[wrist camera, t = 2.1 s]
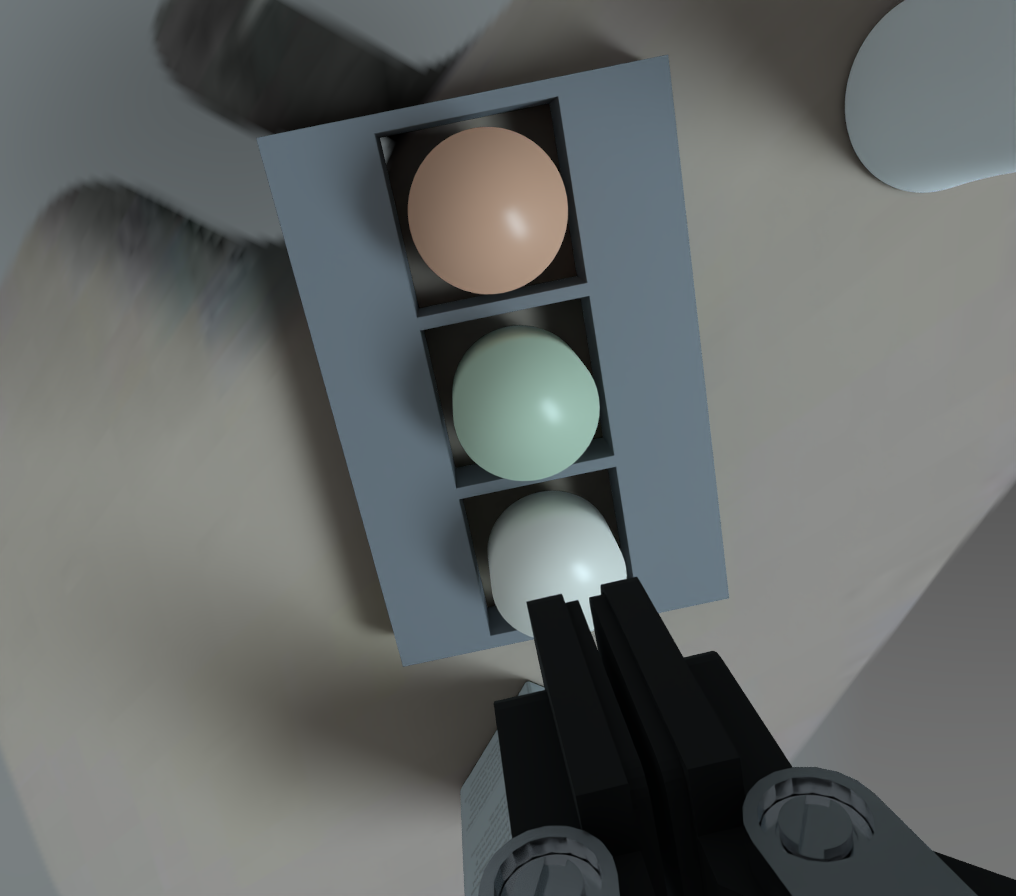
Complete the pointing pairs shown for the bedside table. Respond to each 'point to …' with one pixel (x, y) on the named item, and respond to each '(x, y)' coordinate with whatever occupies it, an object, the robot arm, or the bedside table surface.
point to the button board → (401, 323)
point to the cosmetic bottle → (936, 94)
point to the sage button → (524, 403)
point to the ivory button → (550, 554)
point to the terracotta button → (487, 210)
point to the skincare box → (485, 811)
